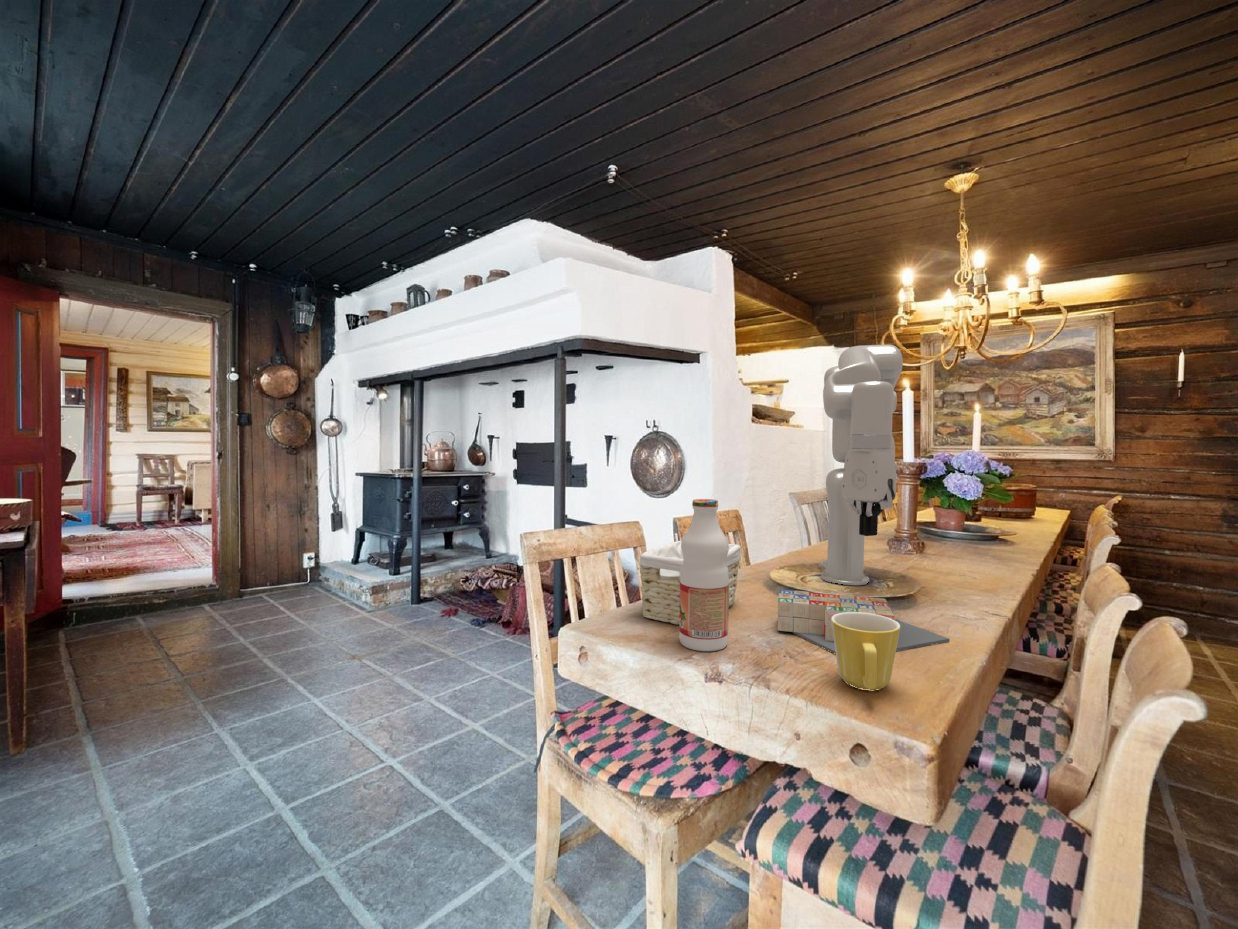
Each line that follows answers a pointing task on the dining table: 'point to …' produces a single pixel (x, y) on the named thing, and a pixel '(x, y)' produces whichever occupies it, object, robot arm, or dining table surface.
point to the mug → (865, 648)
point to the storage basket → (673, 580)
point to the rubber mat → (907, 638)
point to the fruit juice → (704, 581)
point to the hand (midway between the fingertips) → (868, 534)
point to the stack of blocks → (822, 610)
